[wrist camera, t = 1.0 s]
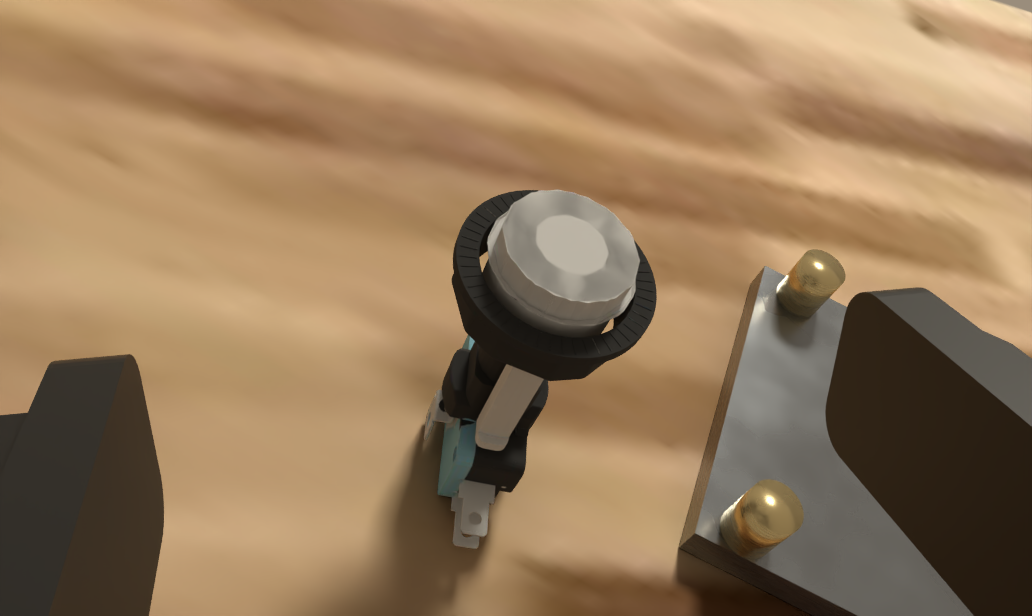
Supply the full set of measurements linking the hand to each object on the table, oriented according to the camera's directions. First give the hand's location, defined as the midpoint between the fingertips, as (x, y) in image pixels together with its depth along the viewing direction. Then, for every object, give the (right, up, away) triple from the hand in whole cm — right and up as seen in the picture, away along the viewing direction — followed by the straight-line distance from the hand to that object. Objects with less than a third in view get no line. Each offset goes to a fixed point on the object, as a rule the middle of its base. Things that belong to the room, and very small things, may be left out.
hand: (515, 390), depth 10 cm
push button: (-2, -4, +20) cm, 20 cm away
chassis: (+13, -5, +24) cm, 28 cm away
